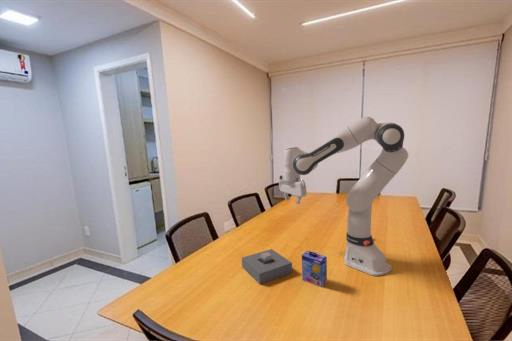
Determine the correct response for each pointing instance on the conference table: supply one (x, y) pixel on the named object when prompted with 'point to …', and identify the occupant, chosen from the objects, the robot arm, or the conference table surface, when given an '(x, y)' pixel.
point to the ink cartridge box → (314, 268)
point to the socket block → (266, 266)
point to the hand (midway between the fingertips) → (292, 201)
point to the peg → (266, 258)
